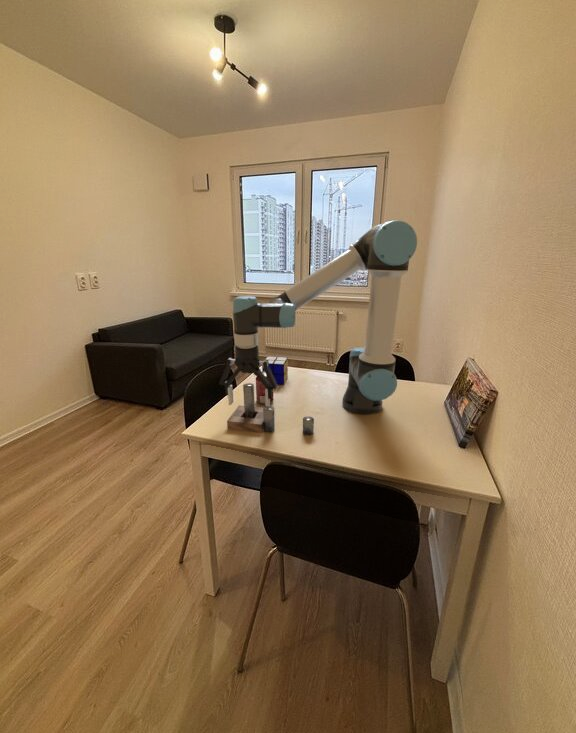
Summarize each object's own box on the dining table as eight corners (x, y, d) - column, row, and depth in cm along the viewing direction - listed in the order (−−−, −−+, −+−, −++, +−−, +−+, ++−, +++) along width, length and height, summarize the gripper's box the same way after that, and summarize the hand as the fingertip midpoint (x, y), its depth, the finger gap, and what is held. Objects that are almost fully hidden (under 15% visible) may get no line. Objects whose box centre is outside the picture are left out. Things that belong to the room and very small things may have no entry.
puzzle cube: (262, 383, 147) (261, 363, 143) (267, 376, 156) (267, 356, 153) (284, 385, 145) (284, 364, 142) (287, 377, 154) (287, 357, 151)
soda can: (271, 406, 125) (270, 377, 121) (254, 404, 126) (253, 376, 122) (275, 398, 131) (274, 371, 127) (259, 397, 133) (258, 370, 129)
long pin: (256, 420, 115) (255, 383, 110) (253, 425, 111) (252, 387, 107) (246, 419, 115) (245, 382, 111) (243, 424, 112) (241, 386, 107)
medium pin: (275, 427, 110) (275, 406, 107) (273, 433, 106) (272, 411, 104) (265, 426, 110) (264, 405, 108) (262, 432, 107) (262, 410, 104)
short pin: (314, 430, 108) (314, 417, 107) (312, 435, 105) (313, 422, 103) (303, 429, 109) (303, 416, 107) (301, 434, 106) (302, 421, 104)
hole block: (270, 415, 118) (270, 408, 117) (261, 432, 107) (261, 424, 106) (239, 412, 120) (238, 405, 119) (227, 428, 109) (227, 421, 108)
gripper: (286, 344, 105) (286, 403, 113) (215, 340, 110) (219, 397, 117) (281, 350, 98) (281, 413, 106) (206, 346, 103) (211, 406, 110)
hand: (249, 405), depth 111 cm, fingers open, 12 cm apart
